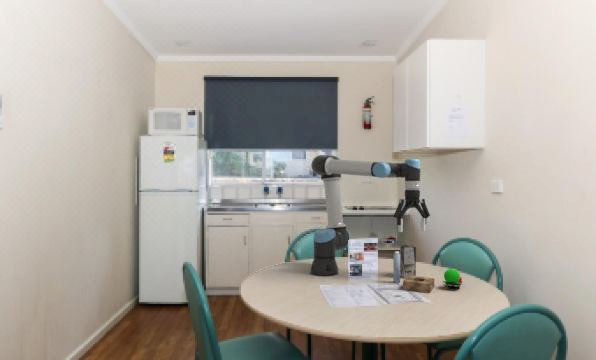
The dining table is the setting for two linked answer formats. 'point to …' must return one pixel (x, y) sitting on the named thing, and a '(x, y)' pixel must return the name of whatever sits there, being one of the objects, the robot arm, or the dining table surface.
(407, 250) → the coffee box
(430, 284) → the bead block
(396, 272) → the needle dowel
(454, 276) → the toy
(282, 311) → the dining table surface
